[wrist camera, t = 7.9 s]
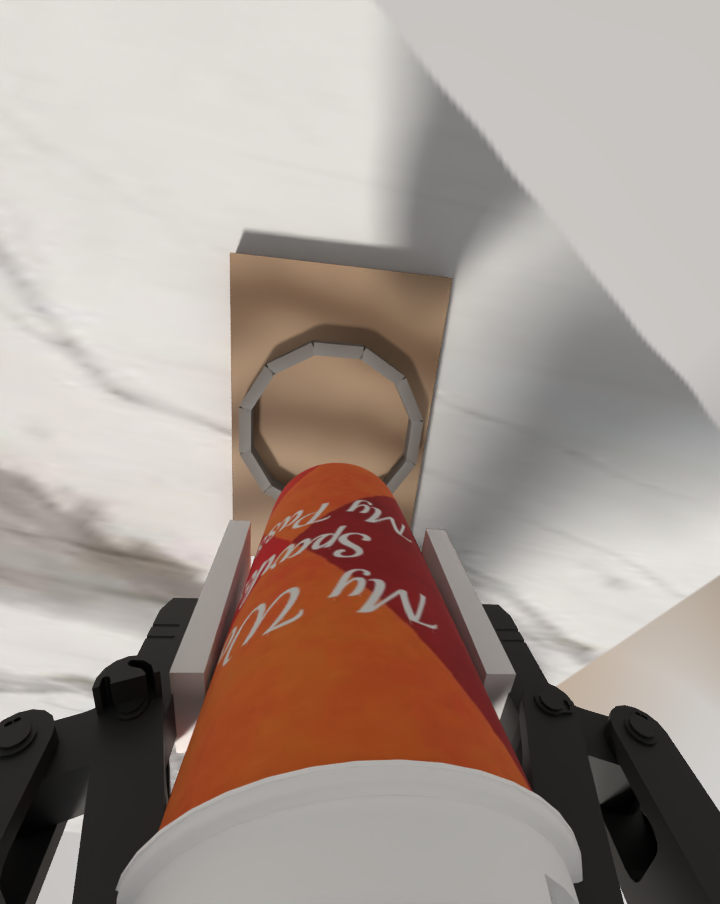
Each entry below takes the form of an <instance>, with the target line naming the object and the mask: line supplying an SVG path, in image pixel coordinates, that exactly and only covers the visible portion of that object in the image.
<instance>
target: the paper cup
mask: <svg viewBox="0 0 720 904" xmlns="http://www.w3.org/2000/svg"><path fill="white" fill-rule="evenodd" d="M581 881H583V876H582V860H581V852H580V849H579V846H578V843H577V841H576V838H575V835H574V833H573V831H572V829H571V828H570V826H569V825H568V824H567V822H566V821H565V820H564V818H563V817H562V816H561V814H560V813H559V812H558V811H557V810H556V809H555V808H554V807H552V806H551V805H550V804H549V803H548V802H546V801H545V800H544V799H543V798H542V797H540V796H539V795H537V794H535V793H533V791H532V788H531V786H530V784H529V782H528V780H527V778H526V776H525V773H524V771H523V769H522V767H521V765H520V763H519V761H518V758H517V756H516V754H515V752H514V750H513V748H512V746H511V743H510V741H509V739H508V737H507V735H506V733H505V731H504V728H503V726H502V724H501V722H500V720H499V718H498V716H497V713H496V711H495V709H494V707H493V705H492V703H491V701H490V698H489V696H488V694H487V692H486V690H485V688H484V686H483V683H482V681H481V679H480V677H479V675H478V673H477V671H476V668H475V666H474V664H473V662H472V660H471V658H470V656H469V653H468V651H467V649H466V647H465V645H464V643H463V640H462V638H461V636H460V634H459V632H458V630H457V628H456V625H455V623H454V621H453V619H452V617H451V615H450V613H449V610H448V608H447V606H446V604H445V602H444V600H443V598H442V595H441V593H440V591H439V589H438V587H437V585H436V583H435V581H434V578H433V576H432V574H431V572H430V570H429V568H428V566H427V564H426V561H425V559H424V557H423V555H422V553H421V551H420V549H419V547H418V544H417V542H416V540H415V538H414V536H413V534H412V532H411V530H410V528H409V526H408V524H407V522H406V519H405V517H404V515H403V513H402V511H401V509H400V507H399V505H398V503H397V501H396V500H395V498H394V496H393V495H392V493H391V491H390V490H389V488H388V487H387V486H386V484H385V483H384V482H383V481H382V480H381V479H380V478H379V477H377V476H376V475H375V474H373V473H372V472H370V471H368V470H366V469H364V468H362V467H359V466H356V465H352V464H347V463H326V464H321V465H317V466H314V467H311V468H309V469H307V470H305V471H303V472H301V473H300V474H298V475H297V476H296V477H294V478H293V479H292V480H291V481H290V482H289V483H288V484H287V485H286V486H285V488H284V489H283V490H282V492H281V493H280V495H279V497H278V499H277V501H276V503H275V505H274V508H273V510H272V513H271V515H270V518H269V520H268V523H267V525H266V528H265V531H264V534H263V536H262V539H261V542H260V545H259V547H258V550H257V553H256V556H255V558H254V561H253V564H252V567H251V570H250V572H249V575H248V578H247V581H246V583H245V586H244V589H243V592H242V595H241V597H240V600H239V603H238V606H237V609H236V612H235V614H234V617H233V620H232V623H231V626H230V629H229V631H228V634H227V637H226V640H225V643H224V646H223V648H222V651H221V654H220V657H219V660H218V663H217V665H216V668H215V671H214V674H213V677H212V680H211V682H210V685H209V688H208V691H207V694H206V697H205V699H204V702H203V705H202V708H201V711H200V713H199V716H198V719H197V722H196V725H195V728H194V730H193V733H192V736H191V739H190V742H189V745H188V747H187V750H186V753H185V756H184V759H183V761H182V764H181V767H180V770H179V773H178V776H177V778H176V781H175V784H174V787H173V790H172V793H171V795H170V798H169V801H168V804H167V807H166V810H165V814H164V817H163V819H162V822H161V825H160V828H159V831H158V832H157V833H156V834H155V835H154V836H153V837H152V838H151V839H150V840H149V841H148V842H147V843H146V844H145V845H144V846H143V847H142V848H141V849H139V850H138V851H137V853H136V854H135V855H134V857H133V858H132V860H131V861H130V863H129V864H128V865H127V867H126V868H125V870H124V871H123V873H122V874H121V877H120V879H119V882H118V885H117V888H116V891H118V896H117V904H579V901H578V898H577V895H576V892H575V888H574V885H573V883H579V882H581Z"/></svg>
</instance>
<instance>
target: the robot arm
mask: <svg viewBox="0 0 720 904" xmlns="http://www.w3.org/2000/svg"><path fill="white" fill-rule="evenodd" d="M422 555H423V557H424V559H425V561H426V564H427V566H428V568H429V570H430V572H431V574H432V576H433V578H434V581H435V583H436V585H437V587H438V589H439V591H440V593H441V595H442V598H443V600H444V602H445V604H446V606H447V608H448V610H449V613H450V615H451V617H452V619H453V621H454V623H455V625H456V628H457V630H458V632H459V634H460V636H461V638H462V640H463V643H464V645H465V647H466V649H467V651H468V653H469V656H470V658H471V660H472V662H473V664H474V666H475V668H476V671H477V673H478V675H479V677H480V679H481V681H482V683H483V686H484V688H485V690H486V692H487V694H488V696H489V698H490V701H491V703H492V705H493V707H494V709H495V711H496V713H497V716H498V718H499V720H500V722H501V724H502V726H503V728H504V731H505V733H506V735H507V737H508V739H509V741H510V743H511V746H512V748H513V750H514V752H515V754H516V756H517V758H518V761H519V763H520V765H521V767H522V769H523V771H524V773H525V776H526V778H527V780H528V782H529V784H530V786H531V788H532V791H533V793H535V794H537V795H539V796H540V797H542V798H543V799H544V800H545V801H546V802H548V803H549V804H550V805H551V806H552V807H554V808H555V809H556V810H557V811H558V812H559V813H560V814H561V816H562V817H563V818H564V820H565V821H566V822H567V824H568V825H569V826H570V828H571V829H572V831H573V833H574V835H575V838H576V841H577V843H578V846H579V849H580V852H581V860H582V876H583V881H581V882H579V883H573V885H574V888H575V892H576V895H577V898H578V901H579V904H624V902H623V898H622V894H621V890H622V892H623V894H624V897H625V899H626V902H627V904H720V812H719V810H718V809H717V807H716V806H715V804H714V803H713V801H712V800H711V798H710V797H709V795H708V794H707V793H706V791H705V789H704V788H703V786H702V785H701V783H700V782H699V780H698V779H697V778H696V776H695V774H694V773H693V771H692V770H691V769H690V767H689V765H688V764H687V763H686V761H685V760H684V758H683V757H682V755H681V754H680V752H679V751H678V749H677V748H676V746H675V745H674V743H673V742H672V740H671V739H670V737H669V736H668V734H667V733H666V732H665V730H664V729H663V728H662V727H661V726H660V725H659V723H658V722H657V721H655V720H654V719H653V718H651V717H650V716H649V715H648V714H646V713H644V712H642V711H640V710H638V709H636V708H633V707H630V706H626V705H623V706H616V707H615V708H614V709H612V710H611V712H610V714H609V716H605V715H602V714H598V713H595V712H591V711H588V710H585V709H582V708H579V707H576V706H574V703H573V702H572V701H571V700H570V698H569V697H568V696H567V695H566V694H565V693H564V692H562V691H561V690H560V689H558V688H557V687H555V686H553V685H551V684H549V683H548V682H547V680H546V678H545V676H544V675H543V673H542V671H541V669H540V668H539V666H538V664H537V662H536V660H535V659H534V657H533V655H532V653H531V652H530V650H529V648H528V646H527V644H526V643H524V639H523V637H522V636H521V634H520V632H518V629H517V627H516V625H515V623H514V621H513V620H512V618H511V616H510V615H509V614H508V613H507V612H506V611H504V610H503V609H502V608H501V607H500V606H499V605H491V604H481V602H480V600H479V598H478V596H477V594H476V592H475V590H474V588H473V586H472V584H471V582H470V580H469V578H468V576H467V574H466V572H465V570H464V568H463V566H462V563H461V561H460V559H459V557H458V555H457V553H456V551H455V549H454V547H453V545H452V543H451V541H450V539H449V537H448V535H447V533H446V531H445V530H440V529H426V532H425V537H424V543H423V548H422ZM250 570H251V521H238V520H230V521H229V524H228V526H227V529H226V531H225V534H224V537H223V539H222V542H221V544H220V547H219V549H218V552H217V554H216V557H215V559H214V562H213V564H212V567H211V569H210V572H209V574H208V577H207V579H206V582H205V584H204V587H203V589H202V592H201V594H200V597H199V599H198V598H173V599H172V600H171V601H169V602H168V603H167V604H166V605H165V606H164V607H163V608H162V609H161V610H160V611H159V613H158V615H157V617H156V619H155V621H154V623H153V627H151V629H150V631H149V633H148V635H147V639H145V641H144V643H143V645H142V647H141V649H140V651H139V653H138V655H137V656H128V657H126V658H123V659H120V660H118V661H115V662H114V663H112V664H111V665H109V666H108V667H106V668H105V669H104V670H103V671H102V672H101V673H100V675H99V676H98V677H97V678H96V680H95V683H94V685H93V688H92V691H93V696H94V701H95V707H96V708H94V709H92V710H89V711H86V712H84V713H81V714H77V715H73V716H70V717H66V718H63V719H59V720H56V721H54V719H53V716H52V715H51V714H49V713H48V712H46V711H45V710H35V709H32V710H28V711H24V712H19V713H17V714H15V715H13V716H11V717H9V718H6V719H4V720H3V721H1V722H0V904H35V903H36V901H37V898H38V896H39V893H40V890H41V888H42V885H43V883H44V880H45V877H46V875H47V872H48V870H49V867H50V864H51V862H52V859H53V857H54V854H55V852H56V849H57V847H58V844H59V841H60V839H61V836H62V834H63V831H64V829H65V826H66V823H67V821H68V820H69V819H72V818H75V817H77V816H80V815H83V814H84V818H83V826H82V833H81V841H80V848H79V856H78V863H77V871H76V879H75V886H74V894H73V901H72V904H117V896H118V891H116V888H117V885H118V882H119V879H120V877H121V874H122V873H123V871H124V870H125V868H126V867H127V865H128V864H129V863H130V861H131V860H132V858H133V857H134V855H135V854H136V853H137V851H138V850H139V849H141V848H142V847H143V846H144V845H145V844H146V843H147V842H148V841H149V840H150V839H151V838H152V837H153V836H154V835H155V834H156V833H157V832H158V831H159V828H160V825H161V822H162V819H163V817H164V814H165V810H166V807H167V804H168V801H169V798H170V795H171V787H170V764H169V758H170V755H171V751H172V748H173V745H174V742H175V743H176V753H186V750H187V747H188V745H189V742H190V739H191V736H192V733H193V730H194V728H195V725H196V722H197V719H198V716H199V713H200V711H201V708H202V705H203V702H204V699H205V697H206V694H207V691H208V688H209V685H210V682H211V680H212V677H213V674H214V671H215V668H216V665H217V663H218V660H219V657H220V654H221V651H222V648H223V646H224V643H225V640H226V637H227V634H228V631H229V629H230V626H231V623H232V620H233V617H234V614H235V612H236V609H237V606H238V603H239V600H240V597H241V595H242V592H243V589H244V586H245V583H246V581H247V578H248V575H249V572H250ZM620 887H621V890H620Z"/></svg>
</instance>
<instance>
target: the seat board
mask: <svg viewBox="0 0 720 904" xmlns="http://www.w3.org/2000/svg"><path fill="white" fill-rule="evenodd" d="M451 284H452V278H448V277H439V276H430V275H422V274H413V273H404V272H395V271H387V270H378V269H369V268H361V267H352V266H343V265H334V264H326V263H317V262H308V261H300V260H291V259H282V258H274V257H265V256H256V255H247V254H239V253H230V305H231V392H232V479H233V520H238V521H251V556H256V553H257V550H258V547H259V545H260V542H261V539H262V536H263V534H264V531H265V528H266V525H267V523H268V520H269V518H270V515H271V513H272V510H273V508H274V505H275V503H276V501H277V499H278V497H279V495H280V493H281V492H282V490H283V489H284V488H285V486H286V485H287V484H288V483H289V482H290V481H291V480H292V479H293V478H294V477H296V476H297V475H298V474H300V473H301V472H303V471H305V470H307V469H309V468H311V467H314V466H317V465H321V464H326V463H347V464H352V465H356V466H359V467H362V468H364V469H366V470H368V471H370V472H372V473H373V474H375V475H376V476H377V477H379V478H380V479H381V480H382V481H383V482H384V483H385V484H386V486H387V487H388V488H389V490H390V491H391V493H392V495H393V496H394V498H395V500H396V501H397V503H398V505H399V507H400V509H401V511H402V513H403V515H404V517H405V519H406V522H407V524H408V526H409V528H411V522H412V516H413V510H414V504H415V498H416V492H417V486H418V480H419V474H420V468H421V462H422V457H423V451H424V445H425V439H426V433H427V427H428V421H429V415H430V409H431V403H432V397H433V391H434V385H435V379H436V373H437V367H438V361H439V356H440V350H441V344H442V338H443V332H444V326H445V320H446V314H447V308H448V302H449V296H450V290H451Z"/></svg>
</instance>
